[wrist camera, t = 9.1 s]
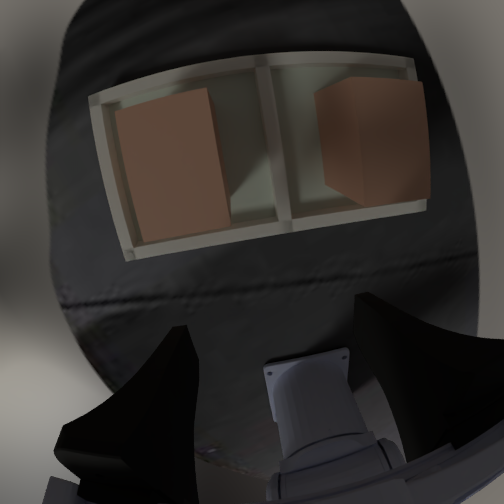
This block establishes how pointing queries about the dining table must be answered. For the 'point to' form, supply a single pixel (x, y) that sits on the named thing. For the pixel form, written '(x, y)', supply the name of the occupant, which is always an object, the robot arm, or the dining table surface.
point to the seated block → (175, 165)
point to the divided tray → (250, 144)
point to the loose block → (375, 139)
